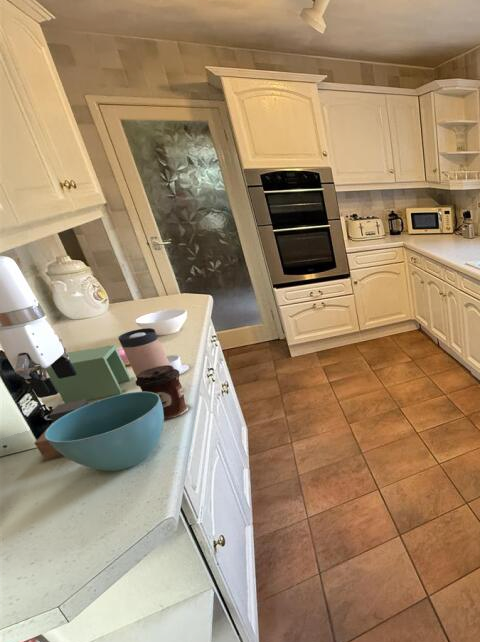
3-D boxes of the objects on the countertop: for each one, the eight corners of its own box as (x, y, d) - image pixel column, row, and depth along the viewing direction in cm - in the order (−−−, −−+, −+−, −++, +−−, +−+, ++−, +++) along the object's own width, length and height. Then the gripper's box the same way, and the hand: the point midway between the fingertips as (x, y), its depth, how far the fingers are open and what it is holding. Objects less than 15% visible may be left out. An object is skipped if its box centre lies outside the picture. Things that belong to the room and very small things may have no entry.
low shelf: (45, 460, 90) (34, 443, 88) (62, 438, 97) (52, 422, 95) (114, 443, 95) (104, 426, 93) (125, 423, 102) (117, 407, 100)
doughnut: (150, 362, 134) (145, 351, 133) (108, 370, 130) (102, 359, 128) (159, 350, 143) (154, 340, 142) (120, 357, 139) (115, 346, 137)
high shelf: (66, 405, 111) (44, 368, 106) (80, 389, 119) (60, 353, 114) (121, 393, 116) (103, 357, 111) (131, 378, 124) (114, 344, 119)
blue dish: (91, 500, 78) (61, 452, 74) (60, 470, 87) (31, 424, 82) (194, 447, 93) (174, 403, 88) (158, 425, 101) (139, 384, 96)
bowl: (154, 327, 165) (147, 311, 162) (198, 322, 169) (193, 306, 166) (133, 342, 151) (126, 325, 148) (182, 336, 155) (176, 320, 152)
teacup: (181, 363, 133) (176, 350, 131) (195, 370, 129) (190, 357, 127) (144, 376, 126) (138, 363, 124) (158, 384, 121) (152, 370, 119)
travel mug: (141, 401, 112) (110, 337, 104) (169, 387, 119) (142, 326, 110) (160, 405, 110) (130, 340, 102) (187, 391, 116) (161, 329, 108)
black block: (59, 433, 91) (48, 415, 89) (68, 421, 95) (58, 404, 93) (88, 426, 93) (78, 408, 91) (96, 415, 97) (86, 398, 95)
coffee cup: (175, 422, 102) (155, 379, 97) (144, 422, 102) (122, 379, 97) (200, 403, 110) (183, 362, 105) (171, 404, 110) (153, 363, 105)
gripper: (14, 307, 88) (54, 374, 95) (-36, 334, 74) (15, 409, 81) (60, 301, 91) (95, 366, 98) (20, 325, 77) (64, 398, 85)
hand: (58, 385), depth 90 cm, fingers open, 9 cm apart
